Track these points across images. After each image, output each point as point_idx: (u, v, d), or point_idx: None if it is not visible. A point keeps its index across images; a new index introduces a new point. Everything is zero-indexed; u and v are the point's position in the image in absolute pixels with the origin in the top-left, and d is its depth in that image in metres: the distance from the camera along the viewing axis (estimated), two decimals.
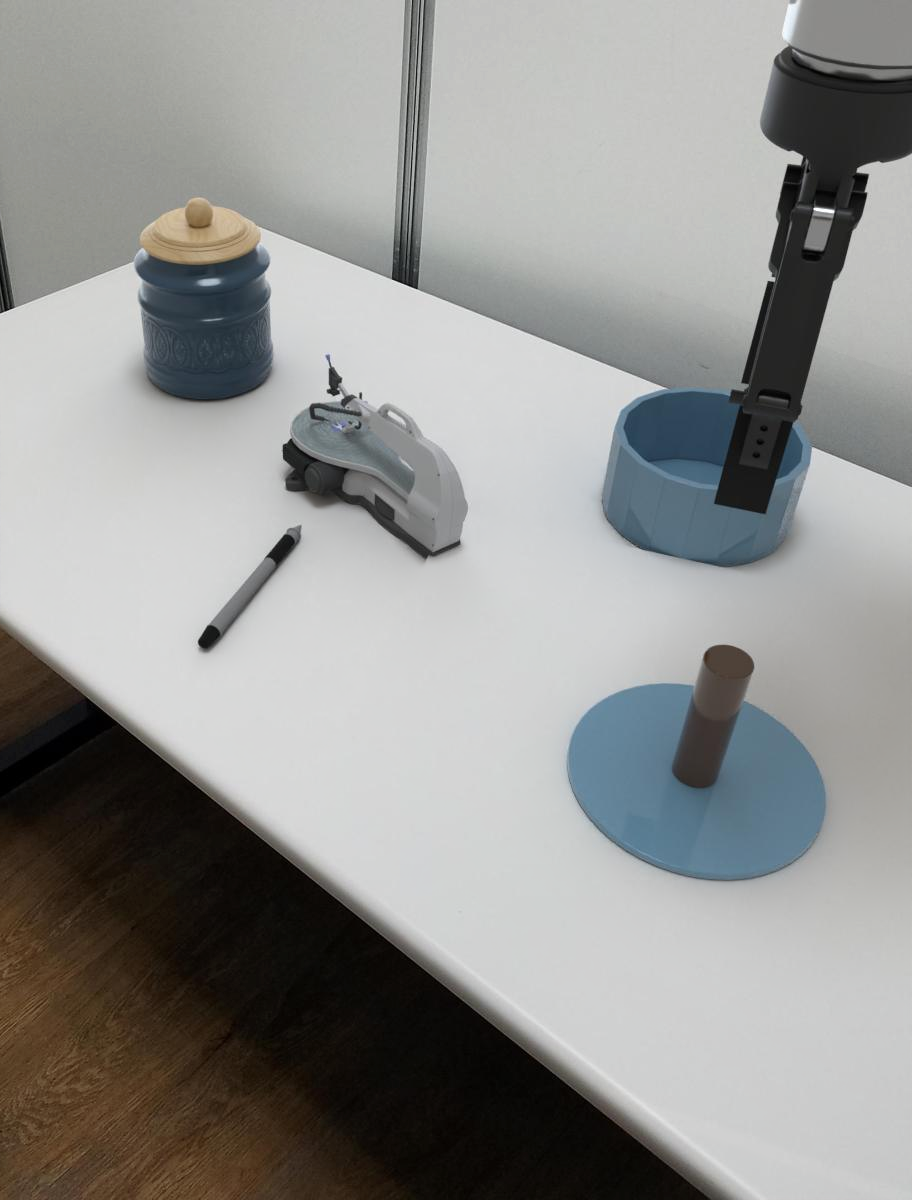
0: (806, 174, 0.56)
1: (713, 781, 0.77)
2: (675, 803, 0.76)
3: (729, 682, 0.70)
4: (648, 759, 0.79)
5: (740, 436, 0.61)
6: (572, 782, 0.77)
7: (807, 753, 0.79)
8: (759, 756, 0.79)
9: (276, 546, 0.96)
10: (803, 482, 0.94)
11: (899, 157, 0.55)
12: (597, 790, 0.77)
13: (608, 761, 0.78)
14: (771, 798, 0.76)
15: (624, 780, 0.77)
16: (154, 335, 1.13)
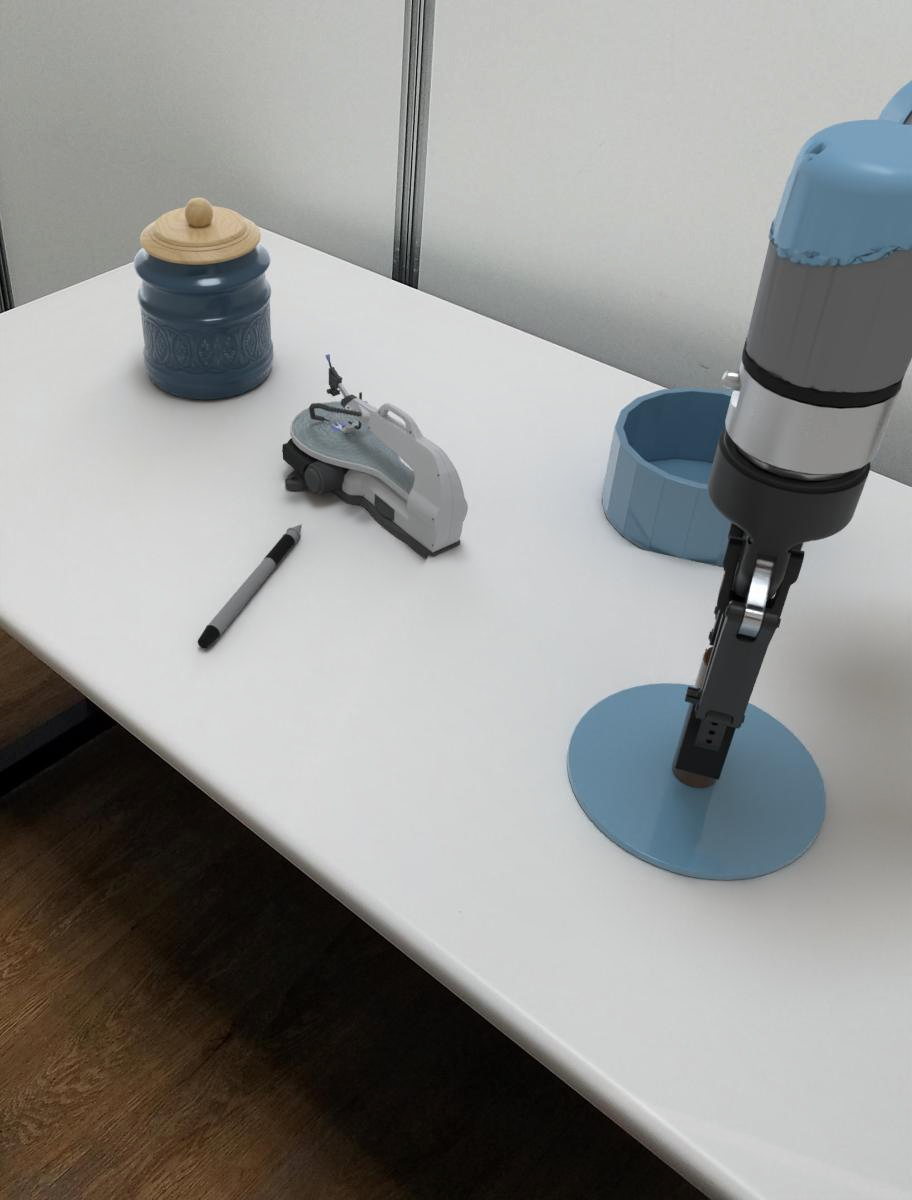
0: (747, 545, 0.62)
1: (713, 781, 0.77)
2: (675, 803, 0.76)
3: None
4: (648, 759, 0.79)
5: (696, 722, 0.72)
6: (572, 782, 0.77)
7: (807, 753, 0.79)
8: (759, 756, 0.79)
9: (276, 546, 0.96)
10: None
11: (830, 535, 0.61)
12: (597, 790, 0.77)
13: (608, 761, 0.78)
14: (771, 798, 0.76)
15: (624, 780, 0.77)
16: (154, 334, 1.13)
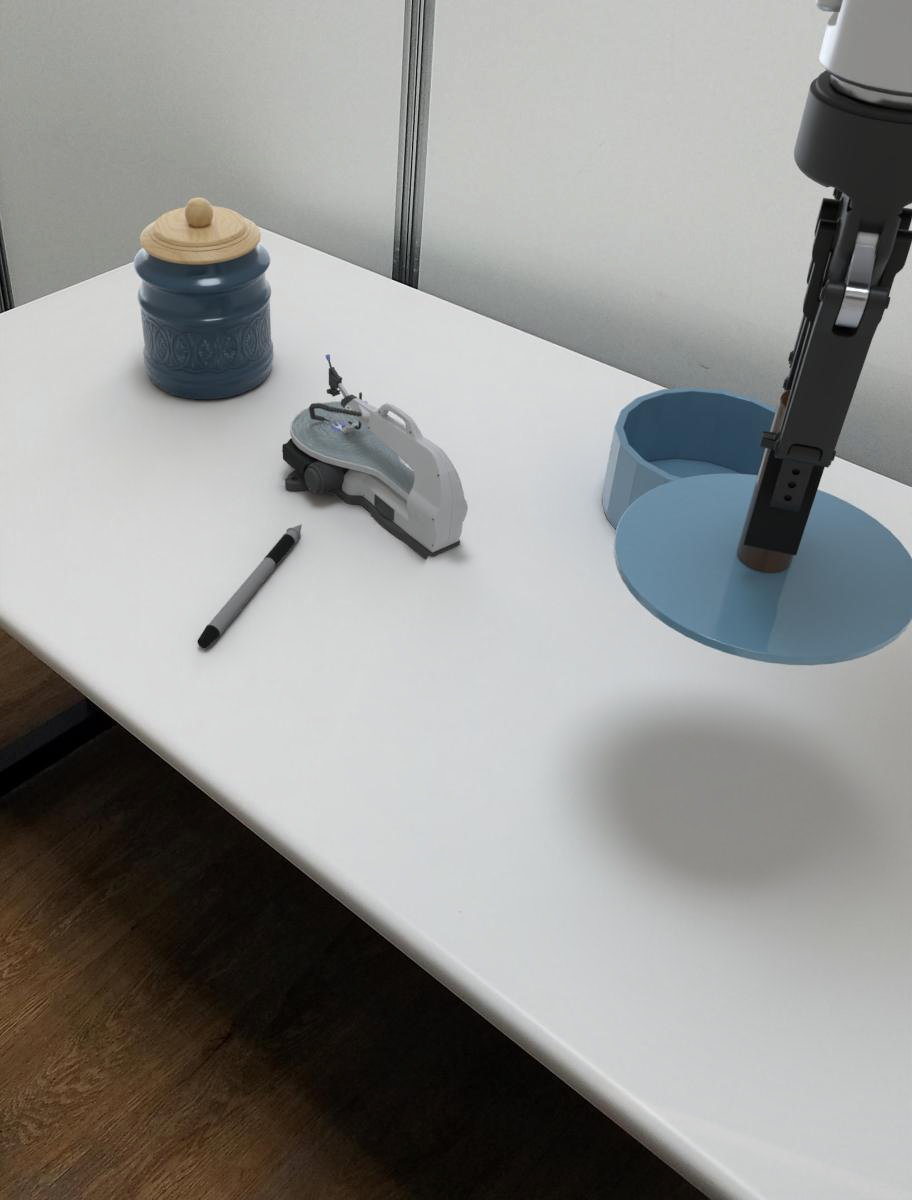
0: (847, 212, 0.51)
1: (787, 564, 0.65)
2: (743, 588, 0.64)
3: None
4: (708, 546, 0.67)
5: (771, 479, 0.61)
6: (621, 569, 0.66)
7: (894, 538, 0.67)
8: (838, 542, 0.67)
9: (276, 546, 0.96)
10: None
11: None
12: (651, 576, 0.65)
13: (662, 548, 0.67)
14: (856, 582, 0.65)
15: (682, 566, 0.66)
16: (154, 334, 1.13)
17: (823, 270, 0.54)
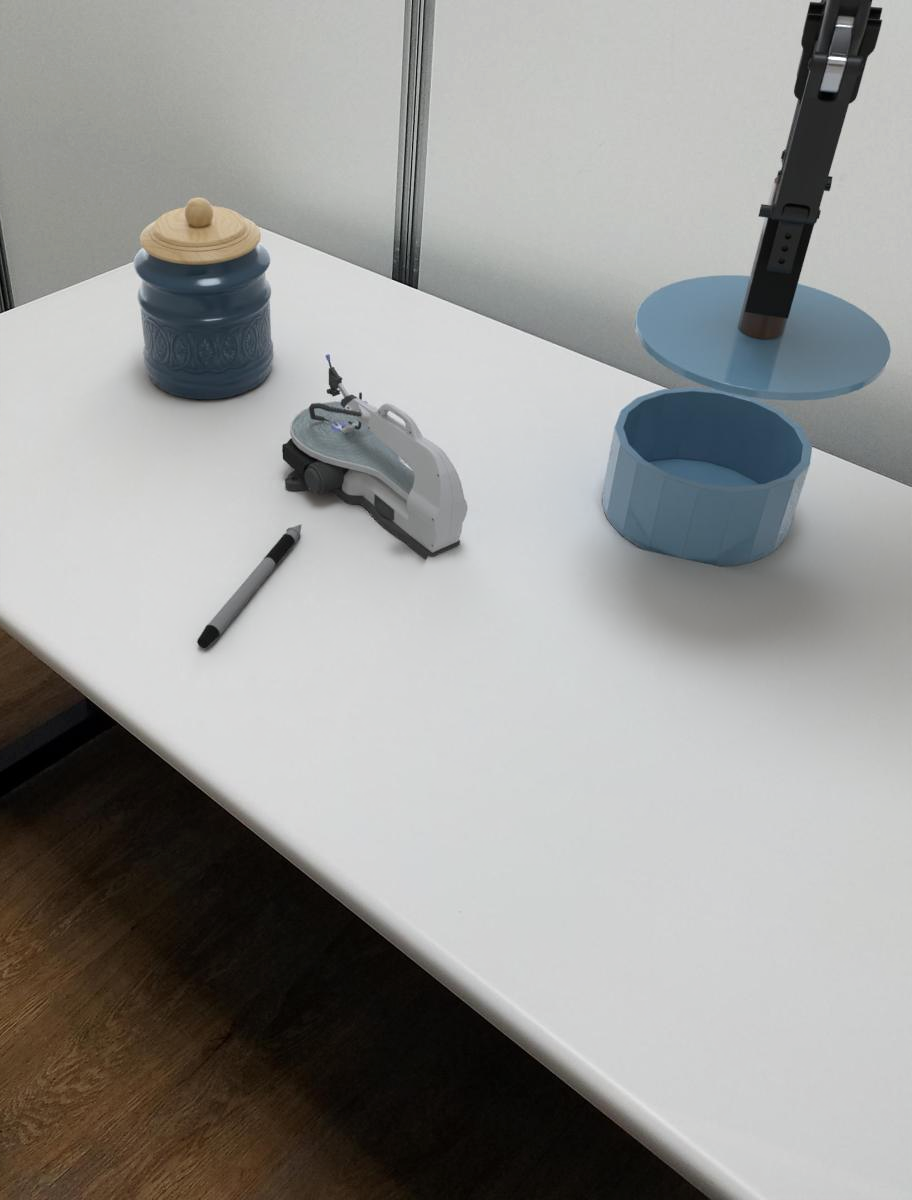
0: None
1: (780, 332, 0.78)
2: (744, 349, 0.77)
3: None
4: (714, 322, 0.80)
5: (767, 248, 0.74)
6: (641, 339, 0.79)
7: (869, 317, 0.81)
8: (822, 319, 0.80)
9: (276, 546, 0.96)
10: (803, 482, 0.94)
11: None
12: (667, 342, 0.78)
13: (675, 324, 0.80)
14: (837, 345, 0.78)
15: (693, 336, 0.79)
16: (154, 334, 1.13)
17: (810, 55, 0.67)
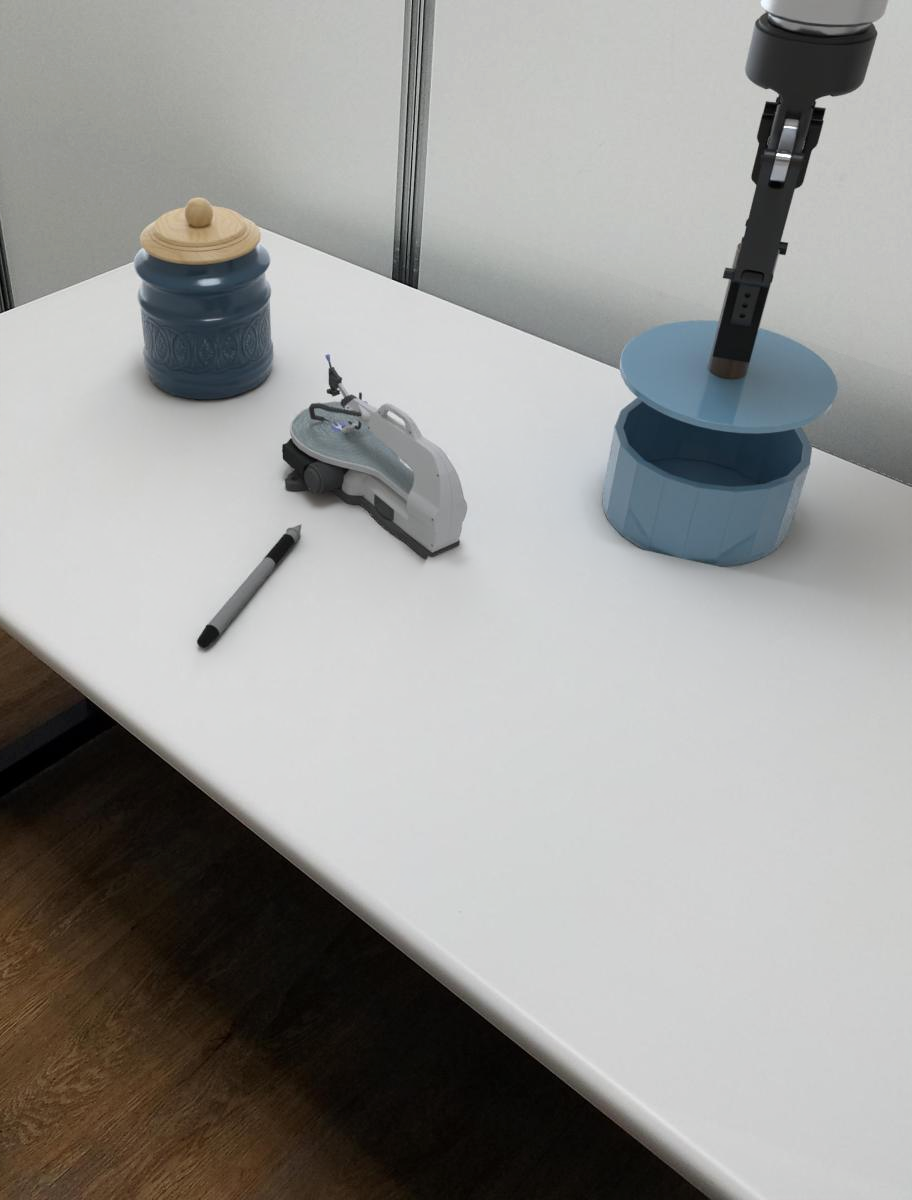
0: (778, 105, 0.77)
1: (743, 373, 0.91)
2: (711, 388, 0.91)
3: None
4: (688, 363, 0.93)
5: (731, 304, 0.87)
6: (624, 377, 0.92)
7: (821, 359, 0.94)
8: (781, 361, 0.94)
9: (276, 546, 0.96)
10: (803, 482, 0.94)
11: (845, 92, 0.76)
12: (646, 380, 0.91)
13: (654, 364, 0.93)
14: (792, 385, 0.91)
15: (668, 375, 0.92)
16: (154, 334, 1.13)
17: (764, 148, 0.80)
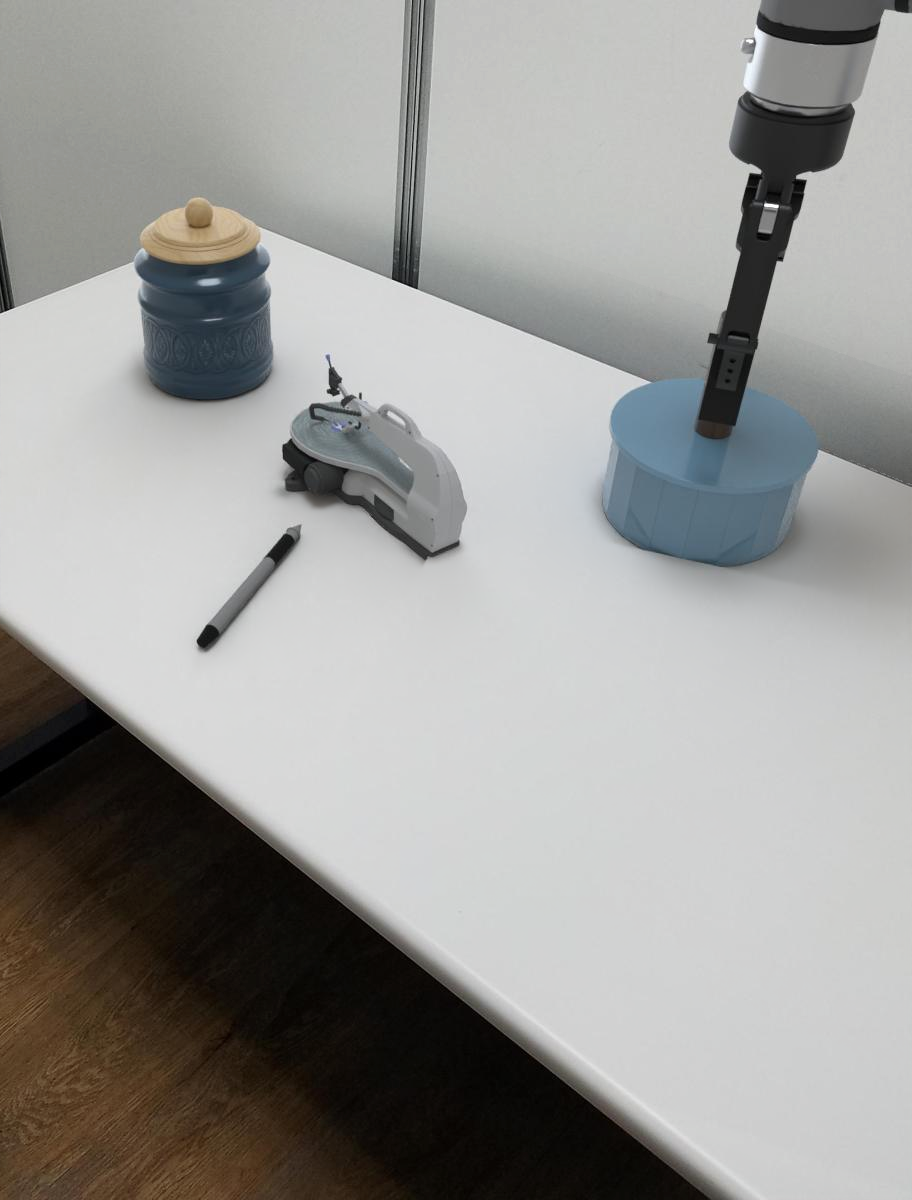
0: (760, 180, 0.80)
1: (728, 433, 0.95)
2: (697, 448, 0.94)
3: None
4: (675, 422, 0.97)
5: (716, 368, 0.85)
6: (614, 437, 0.96)
7: (803, 419, 0.97)
8: (765, 421, 0.97)
9: (275, 546, 0.96)
10: (803, 482, 0.94)
11: (824, 168, 0.79)
12: (634, 440, 0.95)
13: (642, 424, 0.97)
14: (774, 445, 0.94)
15: (656, 435, 0.96)
16: (154, 334, 1.13)
17: None
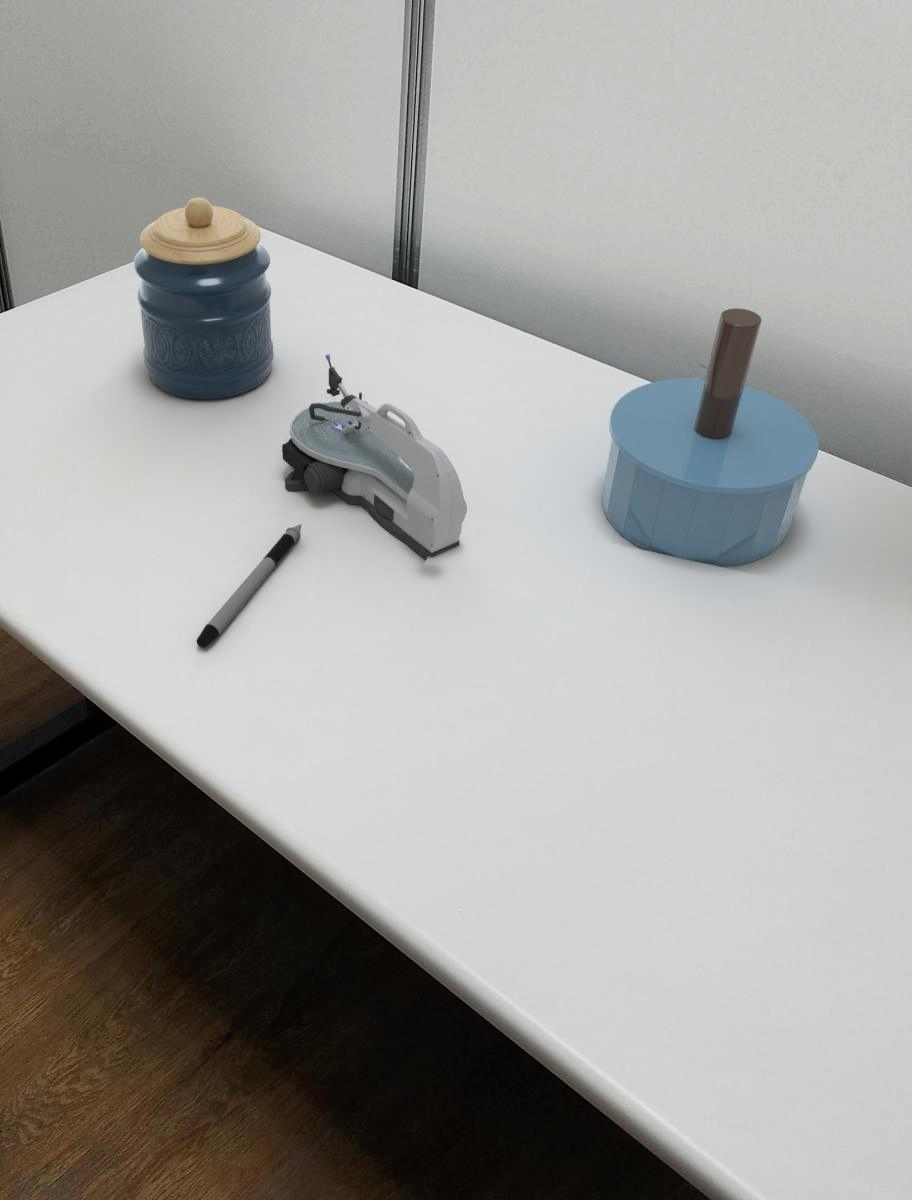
0: None
1: (728, 433, 0.95)
2: (697, 448, 0.94)
3: (741, 330, 0.89)
4: (675, 422, 0.97)
5: None
6: (614, 437, 0.96)
7: (803, 419, 0.97)
8: (765, 421, 0.97)
9: (275, 546, 0.96)
10: (803, 482, 0.94)
11: None
12: (634, 440, 0.95)
13: (642, 424, 0.97)
14: (774, 445, 0.94)
15: (656, 435, 0.96)
16: (154, 334, 1.13)
17: None
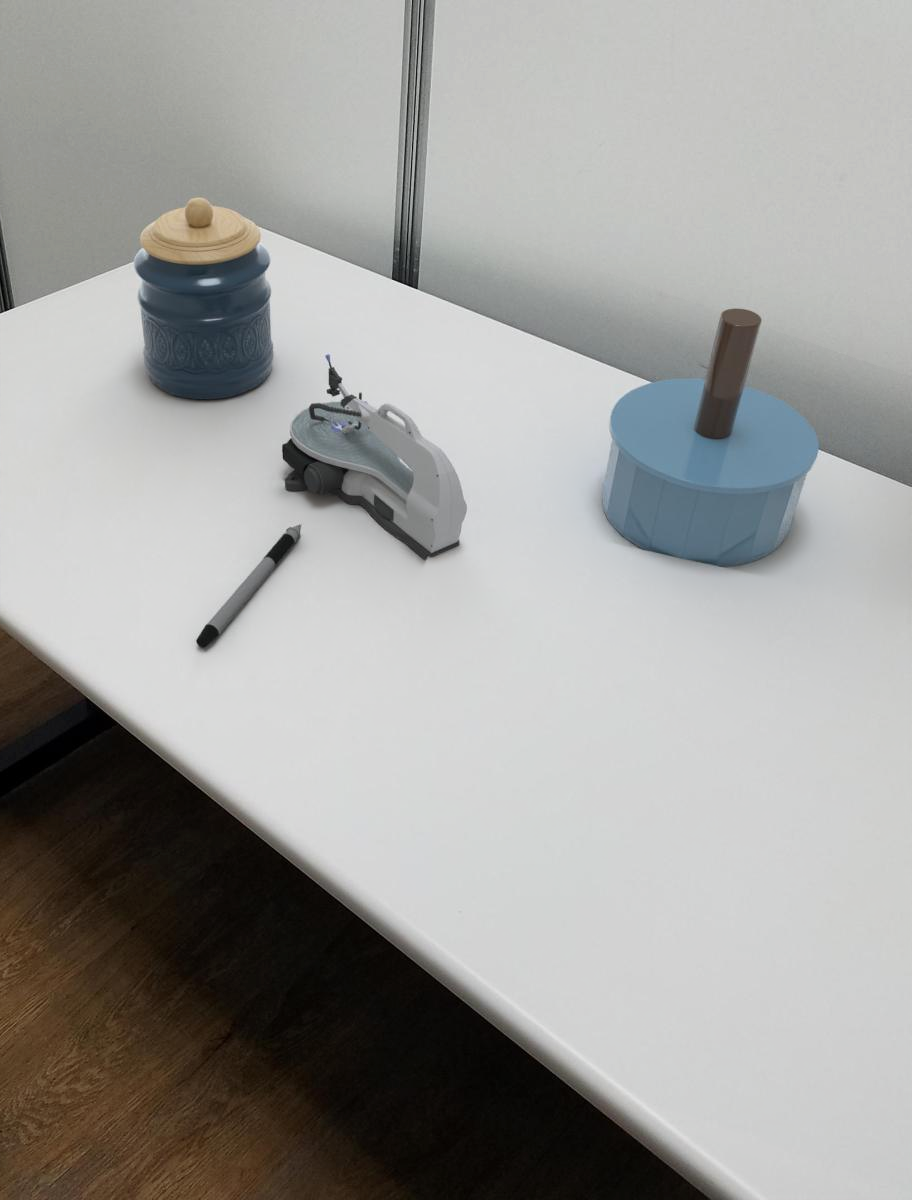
0: None
1: (728, 433, 0.95)
2: (697, 448, 0.94)
3: (741, 330, 0.89)
4: (675, 422, 0.97)
5: None
6: (614, 437, 0.96)
7: (803, 419, 0.97)
8: (765, 421, 0.97)
9: (275, 545, 0.96)
10: (803, 482, 0.94)
11: None
12: (634, 440, 0.95)
13: (642, 424, 0.97)
14: (774, 445, 0.94)
15: (656, 435, 0.96)
16: (154, 334, 1.13)
17: None
